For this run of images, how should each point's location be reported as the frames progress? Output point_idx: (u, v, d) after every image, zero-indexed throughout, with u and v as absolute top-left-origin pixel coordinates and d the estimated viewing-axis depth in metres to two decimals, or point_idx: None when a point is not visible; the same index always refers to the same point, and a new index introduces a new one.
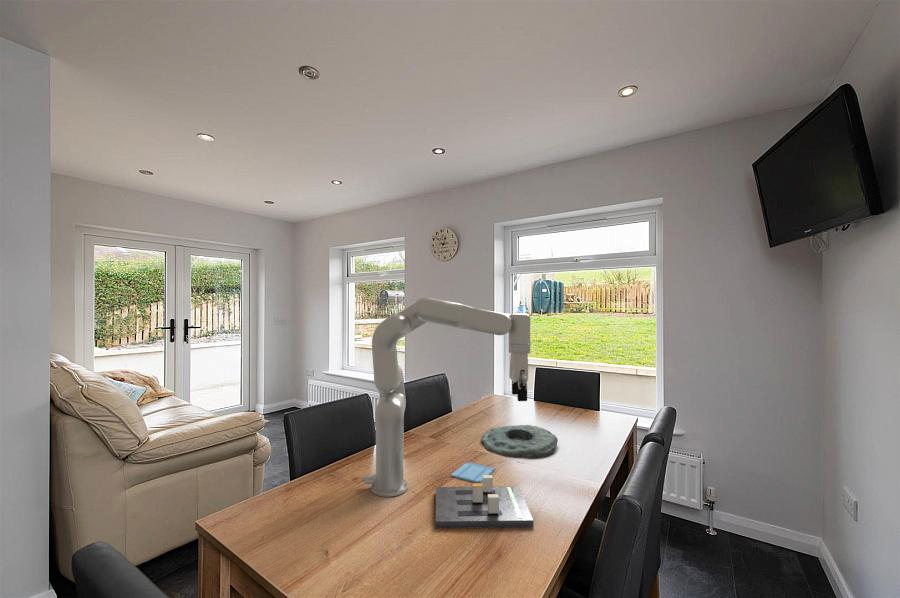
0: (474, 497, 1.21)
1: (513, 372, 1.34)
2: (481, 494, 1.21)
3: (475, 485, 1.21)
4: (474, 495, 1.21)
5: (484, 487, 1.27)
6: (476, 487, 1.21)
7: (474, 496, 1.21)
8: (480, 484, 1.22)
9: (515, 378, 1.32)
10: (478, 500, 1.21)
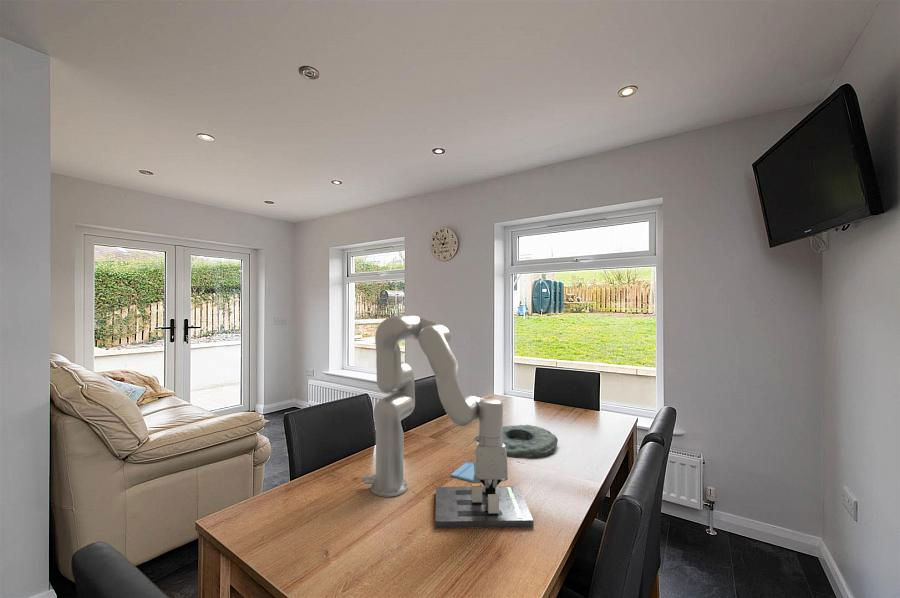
0: (473, 497, 1.21)
1: (502, 468, 1.20)
2: (480, 494, 1.21)
3: (474, 485, 1.21)
4: (473, 495, 1.21)
5: (484, 487, 1.27)
6: (476, 487, 1.21)
7: (473, 496, 1.21)
8: (479, 484, 1.22)
9: (507, 473, 1.20)
10: (477, 500, 1.21)
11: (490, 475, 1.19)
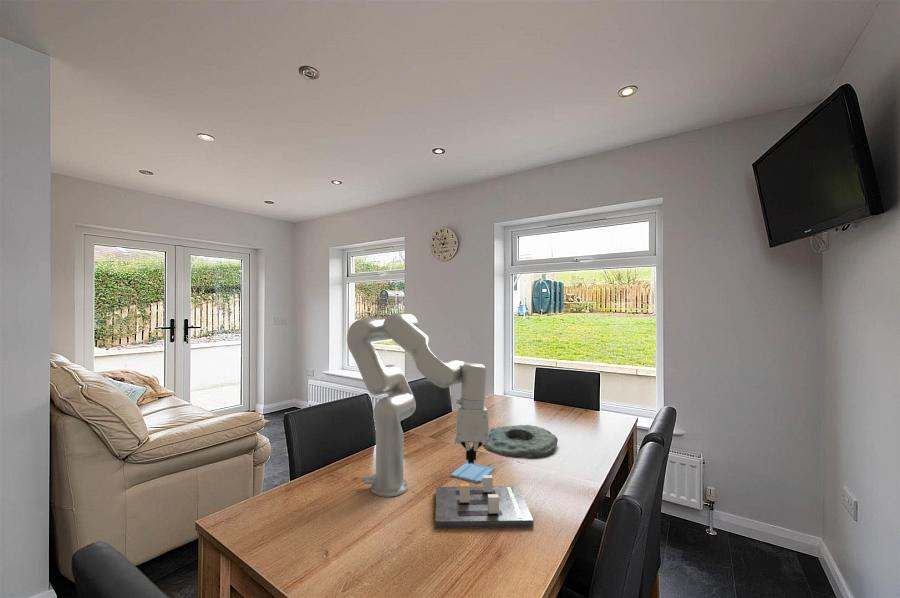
0: (461, 497, 1.21)
1: (483, 431, 1.20)
2: (468, 494, 1.21)
3: (462, 485, 1.21)
4: (461, 495, 1.21)
5: (484, 487, 1.27)
6: (463, 487, 1.21)
7: (461, 496, 1.21)
8: (467, 484, 1.22)
9: (488, 437, 1.20)
10: (465, 500, 1.21)
11: (471, 438, 1.19)
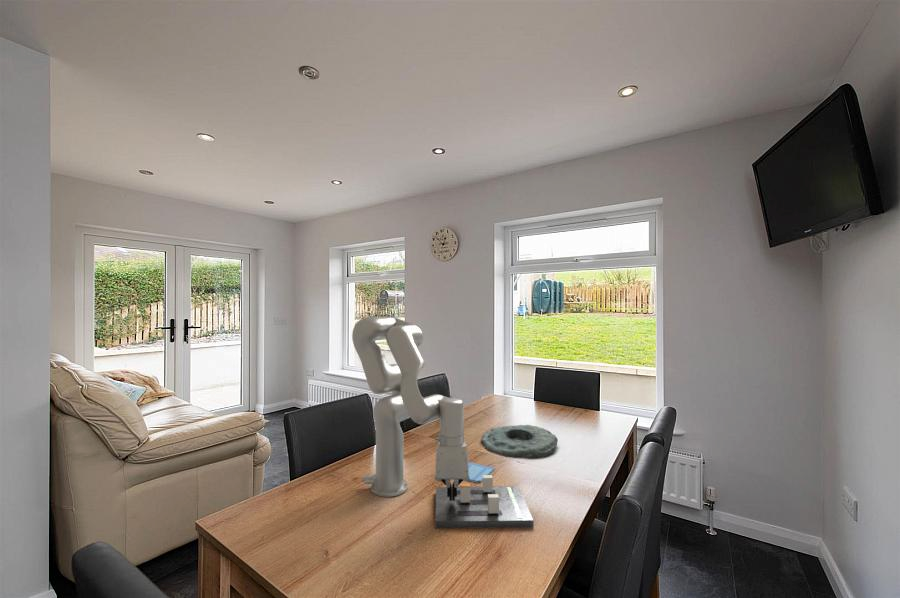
0: (462, 497, 1.21)
1: (462, 468, 1.19)
2: (469, 494, 1.21)
3: (463, 485, 1.21)
4: (462, 495, 1.21)
5: (484, 487, 1.27)
6: (464, 487, 1.21)
7: (462, 496, 1.21)
8: (468, 484, 1.22)
9: (468, 473, 1.19)
10: (465, 500, 1.21)
11: (450, 475, 1.19)
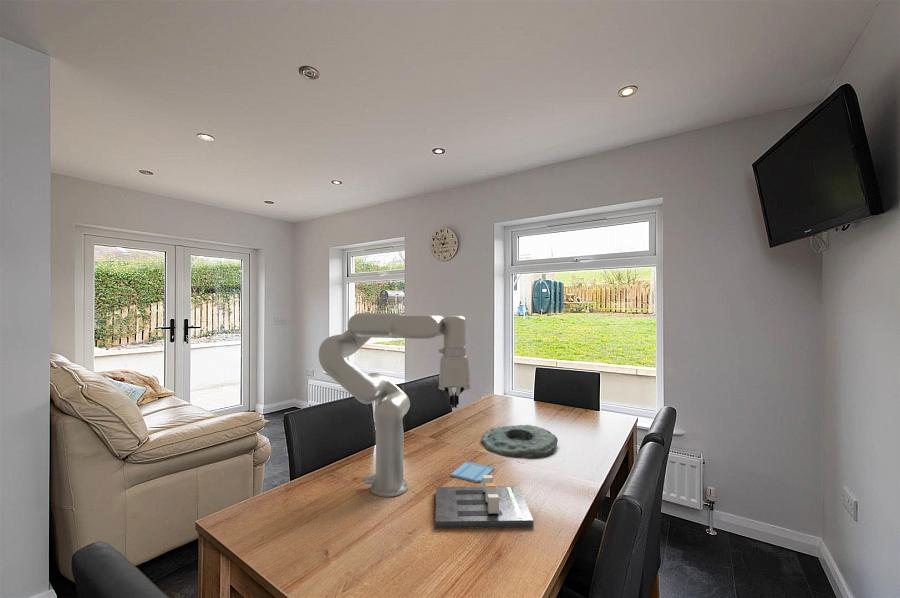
0: (487, 497, 1.21)
1: (464, 377, 1.29)
2: None
3: (488, 485, 1.22)
4: (487, 495, 1.21)
5: (484, 487, 1.27)
6: (489, 487, 1.21)
7: (487, 496, 1.21)
8: (493, 484, 1.22)
9: (469, 382, 1.30)
10: None
11: (453, 383, 1.29)
